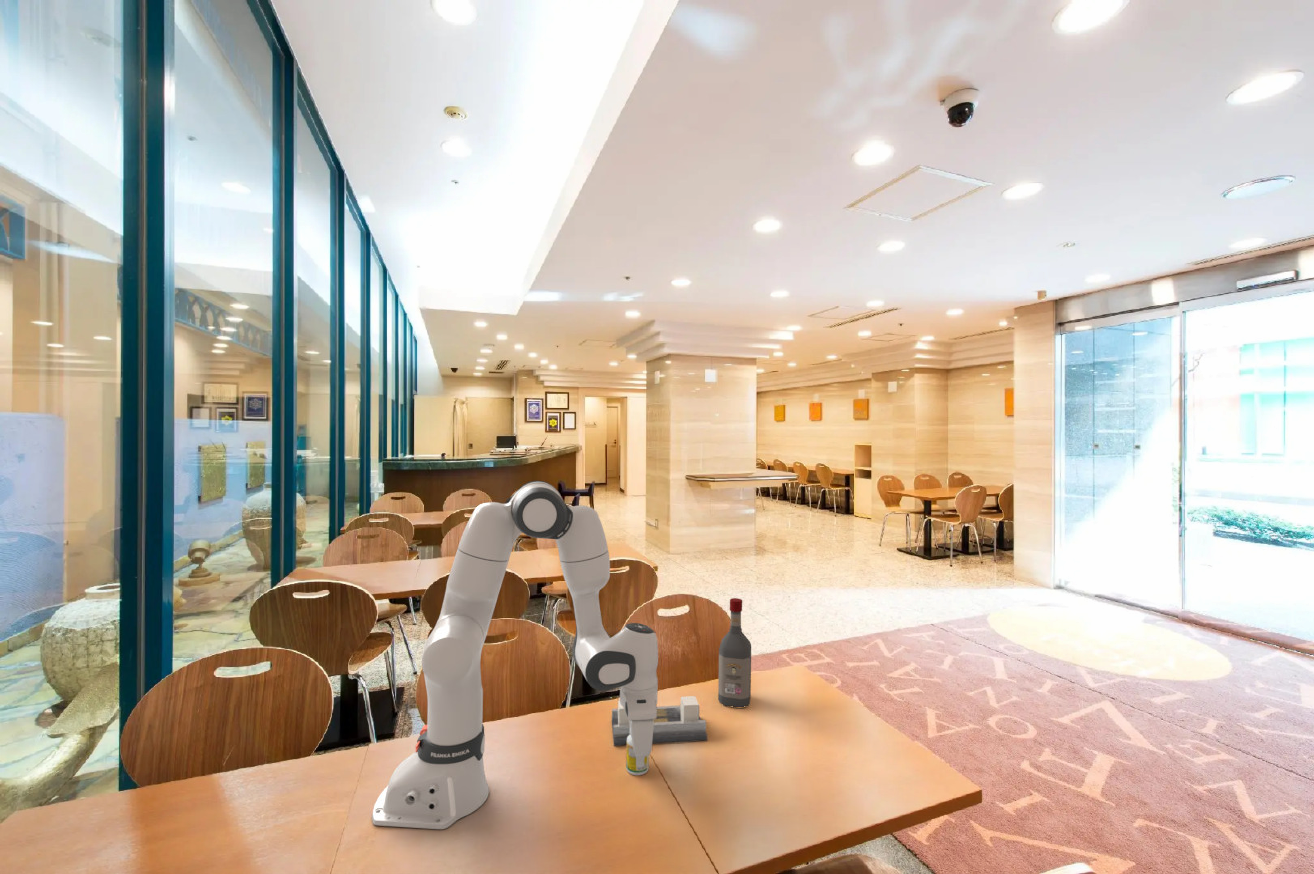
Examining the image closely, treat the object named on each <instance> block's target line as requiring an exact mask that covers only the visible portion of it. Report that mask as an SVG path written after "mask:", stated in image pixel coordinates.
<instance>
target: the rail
mask: <svg viewBox="0 0 1314 874" xmlns="http://www.w3.org/2000/svg"><path fill="white" fill-rule="evenodd" d="M656 707H657V717H656V719H654V728H653V740H652V745H653V744H656V745H657V744H671V743H673V744H674V743H686V742H703V741H706V742H707V741H708V734H707V721H706V720H705V719H701V716H700V715H699V720H694V721H681V719H680V713H681V704H680V705H663V706H656ZM611 729H612V741H613V746H614V747H617V746H618V747H619V746H620V747H621V746H627V737H628V736H629V735H630V725H629V724H619V725H618V708H612V709H611Z"/></svg>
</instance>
